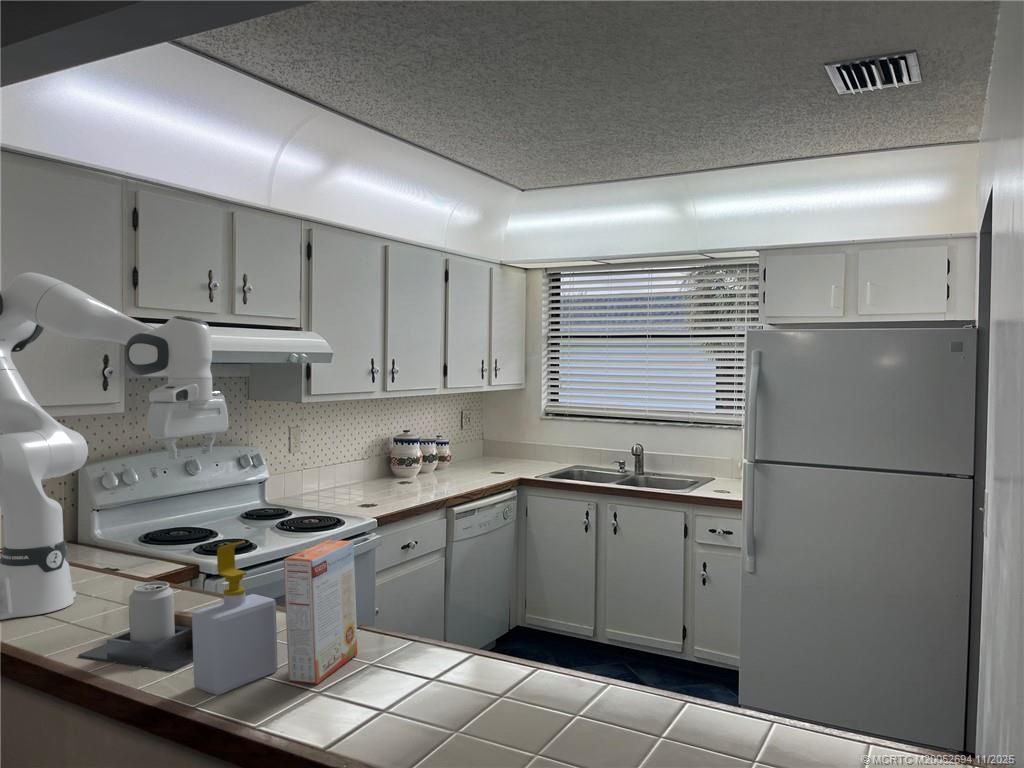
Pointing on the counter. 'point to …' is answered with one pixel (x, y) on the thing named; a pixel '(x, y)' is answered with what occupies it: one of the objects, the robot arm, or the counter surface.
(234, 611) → the soap bottle
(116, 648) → the socket
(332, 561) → the cracker box
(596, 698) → the counter surface
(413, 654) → the counter surface
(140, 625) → the can
